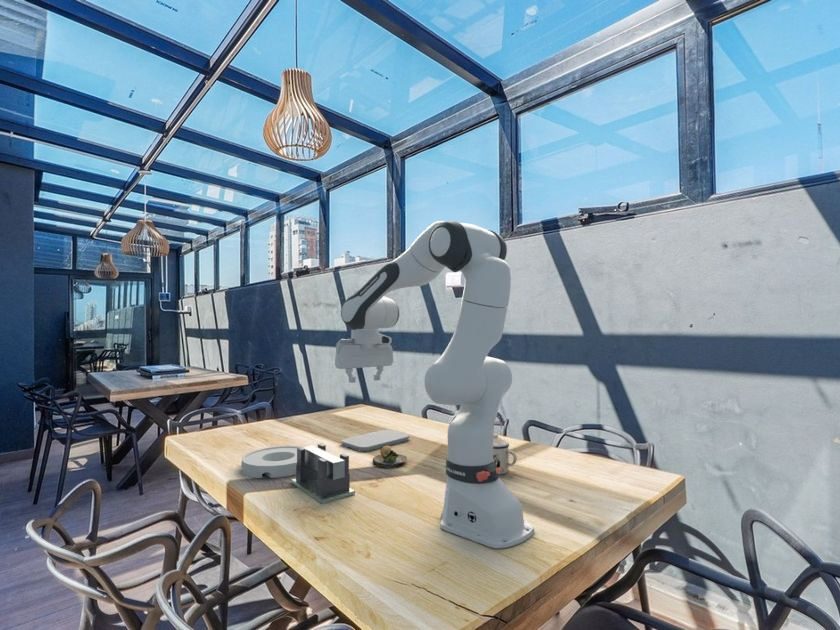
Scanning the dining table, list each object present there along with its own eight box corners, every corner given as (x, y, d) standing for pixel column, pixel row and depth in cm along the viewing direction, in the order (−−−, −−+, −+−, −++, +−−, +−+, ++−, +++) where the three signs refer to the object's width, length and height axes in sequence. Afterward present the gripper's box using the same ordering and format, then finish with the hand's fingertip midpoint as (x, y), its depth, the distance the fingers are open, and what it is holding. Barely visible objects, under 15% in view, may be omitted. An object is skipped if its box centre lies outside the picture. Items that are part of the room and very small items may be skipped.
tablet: (337, 445, 170) (337, 440, 170) (386, 434, 188) (386, 429, 189) (363, 454, 158) (363, 448, 159) (412, 440, 177) (412, 435, 177)
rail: (344, 477, 117) (344, 460, 117) (333, 479, 115) (333, 463, 115) (312, 459, 132) (312, 445, 133) (301, 462, 130) (301, 447, 130)
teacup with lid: (475, 471, 138) (475, 434, 138) (489, 464, 145) (489, 429, 146) (510, 479, 131) (509, 440, 131) (522, 471, 138) (522, 435, 138)
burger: (402, 470, 140) (402, 447, 140) (368, 467, 142) (368, 445, 143) (410, 459, 152) (410, 438, 152) (378, 457, 154) (378, 436, 154)
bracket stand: (354, 494, 119) (354, 456, 119) (321, 503, 112) (322, 463, 113) (321, 475, 134) (322, 441, 135) (291, 482, 128) (291, 447, 128)
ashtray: (293, 452, 160) (293, 442, 160) (326, 467, 143) (326, 455, 144) (230, 466, 144) (230, 454, 144) (259, 484, 127) (259, 471, 127)
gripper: (341, 339, 130) (341, 385, 129) (395, 338, 143) (395, 379, 142) (331, 339, 134) (331, 383, 134) (385, 338, 147) (384, 378, 147)
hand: (364, 381), depth 138 cm, fingers open, 8 cm apart
